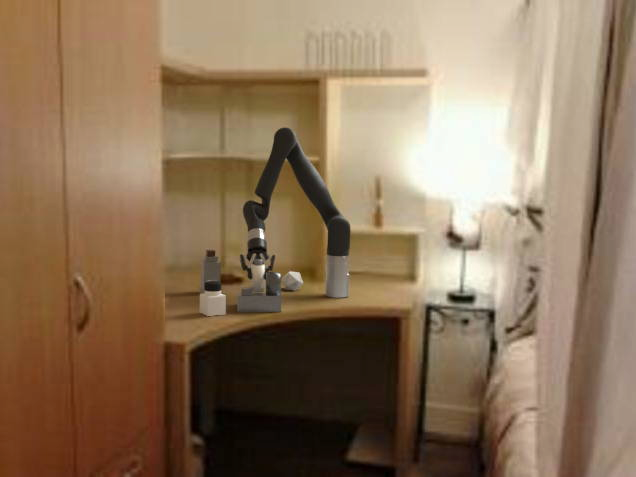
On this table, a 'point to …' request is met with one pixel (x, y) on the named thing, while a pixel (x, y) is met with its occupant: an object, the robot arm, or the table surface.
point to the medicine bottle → (212, 299)
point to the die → (292, 281)
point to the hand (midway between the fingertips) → (258, 278)
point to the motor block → (262, 296)
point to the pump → (258, 275)
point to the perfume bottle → (210, 268)
